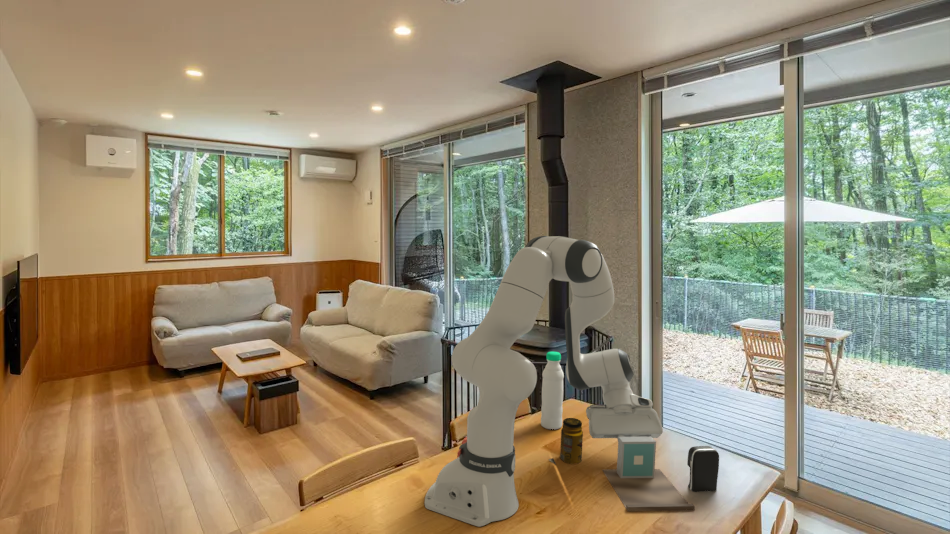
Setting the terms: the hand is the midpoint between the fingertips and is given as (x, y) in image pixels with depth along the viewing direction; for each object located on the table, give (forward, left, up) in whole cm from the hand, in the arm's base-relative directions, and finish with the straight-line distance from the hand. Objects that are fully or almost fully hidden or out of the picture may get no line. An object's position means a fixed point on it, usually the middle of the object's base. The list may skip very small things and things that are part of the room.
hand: (630, 453), depth 132 cm
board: (+3, -9, -5) cm, 11 cm away
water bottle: (-25, +23, -5) cm, 34 cm away
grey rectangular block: (+1, -3, -4) cm, 6 cm away
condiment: (-17, 0, -6) cm, 18 cm away
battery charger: (+17, -4, -5) cm, 18 cm away
